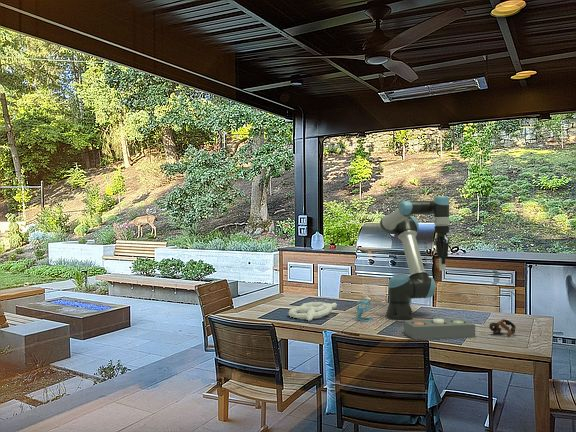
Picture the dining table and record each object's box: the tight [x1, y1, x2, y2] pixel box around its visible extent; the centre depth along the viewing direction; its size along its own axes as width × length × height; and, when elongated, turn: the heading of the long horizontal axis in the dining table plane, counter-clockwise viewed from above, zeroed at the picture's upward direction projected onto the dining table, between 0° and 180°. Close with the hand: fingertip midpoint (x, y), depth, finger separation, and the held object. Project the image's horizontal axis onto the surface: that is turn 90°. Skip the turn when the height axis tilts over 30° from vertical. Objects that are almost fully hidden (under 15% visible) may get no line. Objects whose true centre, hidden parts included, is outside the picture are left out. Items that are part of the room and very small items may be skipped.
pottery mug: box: [488, 318, 516, 338], centre depth 225 cm, size 12×10×8 cm
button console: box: [403, 318, 476, 340], centre depth 227 cm, size 14×30×6 cm, turn 96°
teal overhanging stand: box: [355, 298, 374, 323], centre depth 262 cm, size 8×8×12 cm
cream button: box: [432, 317, 445, 324], centre depth 227 cm, size 5×5×3 cm
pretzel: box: [288, 301, 338, 322], centre depth 274 cm, size 28×24×6 cm
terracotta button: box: [413, 322, 424, 325], centre depth 226 cm, size 5×5×3 cm
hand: (442, 270), depth 245 cm, fingers closed
